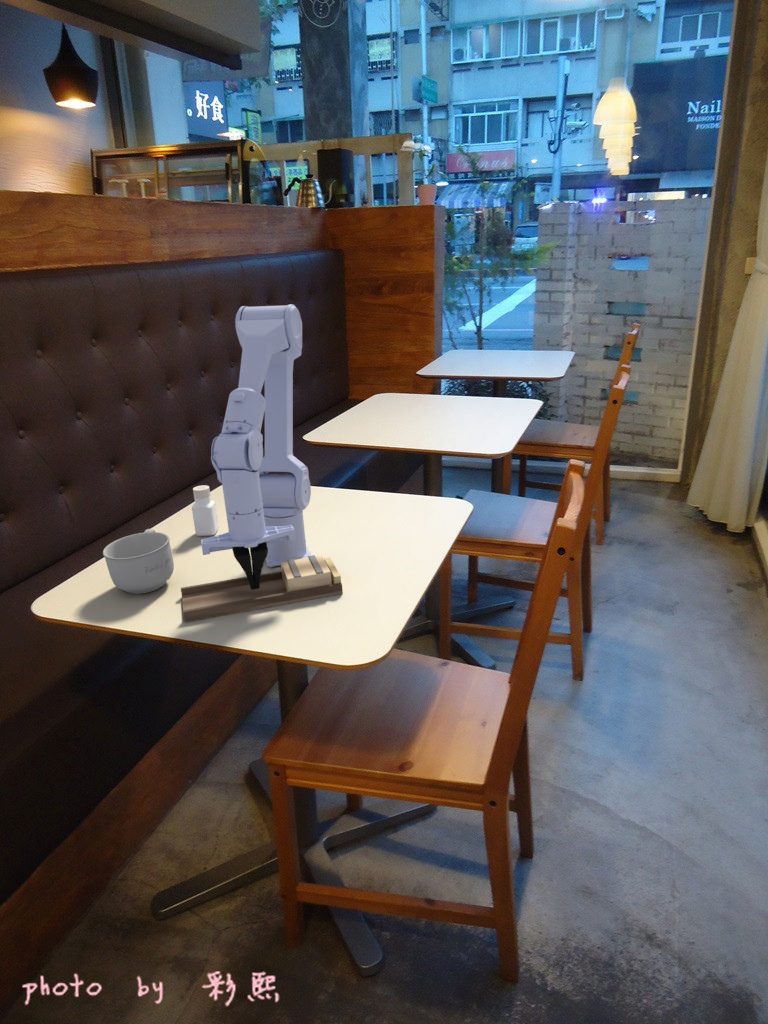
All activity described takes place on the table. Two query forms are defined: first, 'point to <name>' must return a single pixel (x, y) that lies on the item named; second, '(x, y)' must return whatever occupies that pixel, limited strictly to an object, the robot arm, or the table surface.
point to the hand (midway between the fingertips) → (254, 586)
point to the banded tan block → (305, 573)
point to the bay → (249, 595)
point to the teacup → (140, 561)
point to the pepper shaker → (204, 512)
